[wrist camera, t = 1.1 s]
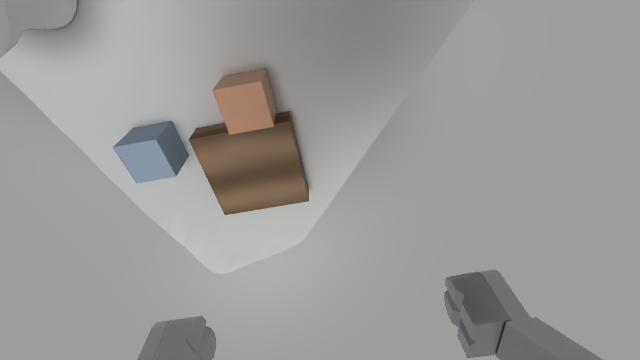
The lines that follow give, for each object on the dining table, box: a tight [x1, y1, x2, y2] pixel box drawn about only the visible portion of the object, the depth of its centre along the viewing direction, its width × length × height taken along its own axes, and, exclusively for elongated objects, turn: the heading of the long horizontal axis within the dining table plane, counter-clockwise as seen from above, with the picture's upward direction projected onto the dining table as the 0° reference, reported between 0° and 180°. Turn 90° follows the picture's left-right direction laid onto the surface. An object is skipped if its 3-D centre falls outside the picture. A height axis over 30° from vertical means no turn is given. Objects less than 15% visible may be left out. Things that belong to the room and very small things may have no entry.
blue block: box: [113, 121, 189, 183], centre depth 36 cm, size 5×5×5 cm
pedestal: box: [189, 111, 309, 215], centre depth 39 cm, size 12×12×3 cm
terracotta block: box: [213, 68, 277, 135], centre depth 33 cm, size 5×5×5 cm
